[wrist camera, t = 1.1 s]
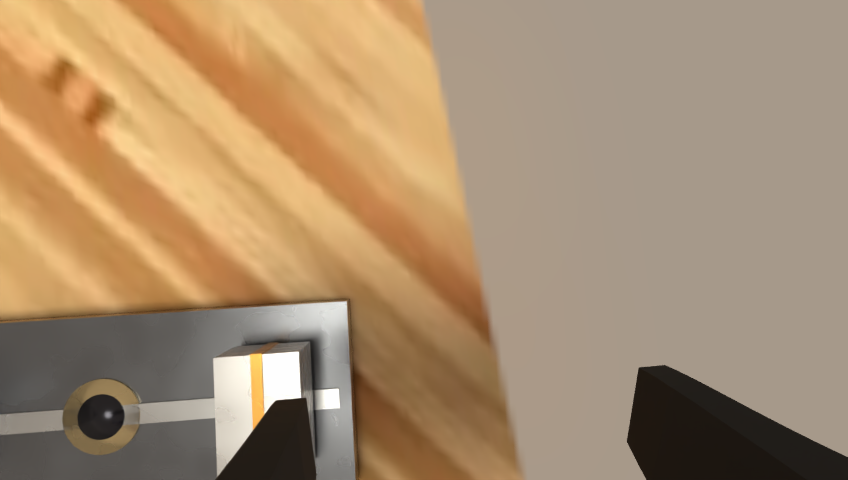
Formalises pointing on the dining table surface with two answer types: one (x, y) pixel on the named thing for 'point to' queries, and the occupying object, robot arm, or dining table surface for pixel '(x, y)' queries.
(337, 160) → the dining table surface
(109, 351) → the plate
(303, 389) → the block
